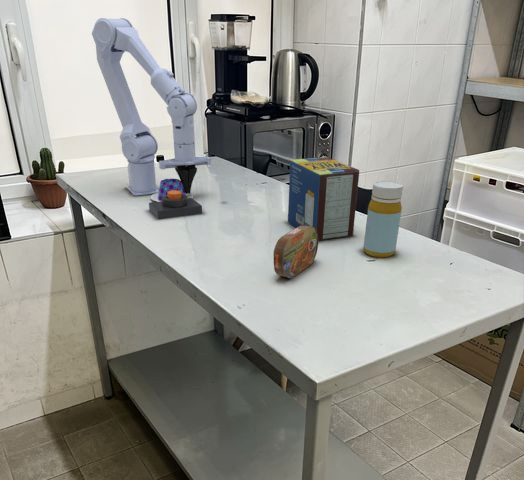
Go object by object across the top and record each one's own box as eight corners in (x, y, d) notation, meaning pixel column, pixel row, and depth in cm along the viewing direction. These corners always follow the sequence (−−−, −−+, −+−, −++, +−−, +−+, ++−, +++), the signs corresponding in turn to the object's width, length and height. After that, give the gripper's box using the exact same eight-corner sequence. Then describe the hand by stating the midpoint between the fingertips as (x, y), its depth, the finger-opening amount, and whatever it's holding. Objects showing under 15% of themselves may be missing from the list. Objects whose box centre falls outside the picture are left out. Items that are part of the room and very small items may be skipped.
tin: (283, 284, 105) (285, 243, 101) (269, 280, 106) (270, 239, 102) (318, 260, 116) (321, 221, 112) (305, 257, 117) (307, 219, 113)
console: (158, 219, 138) (156, 204, 136) (149, 210, 144) (147, 195, 142) (202, 213, 142) (201, 198, 140) (191, 205, 149) (191, 191, 146)
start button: (170, 201, 139) (169, 194, 138) (166, 197, 142) (165, 191, 141) (183, 199, 141) (183, 193, 140) (179, 196, 143) (178, 189, 142)
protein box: (322, 217, 141) (327, 156, 133) (353, 236, 129) (360, 170, 121) (286, 222, 138) (289, 159, 130) (315, 242, 126) (319, 173, 118)
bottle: (376, 260, 116) (385, 190, 109) (356, 249, 122) (364, 182, 114) (401, 255, 119) (412, 186, 111) (381, 245, 125) (390, 178, 117)
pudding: (195, 204, 149) (194, 185, 147) (151, 206, 147) (149, 187, 145) (191, 192, 159) (190, 174, 157) (150, 194, 157) (148, 176, 155)
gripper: (163, 147, 142) (167, 199, 149) (214, 143, 147) (215, 193, 154) (155, 142, 147) (159, 192, 154) (205, 138, 153) (206, 187, 160)
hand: (187, 192), depth 154 cm, fingers closed
